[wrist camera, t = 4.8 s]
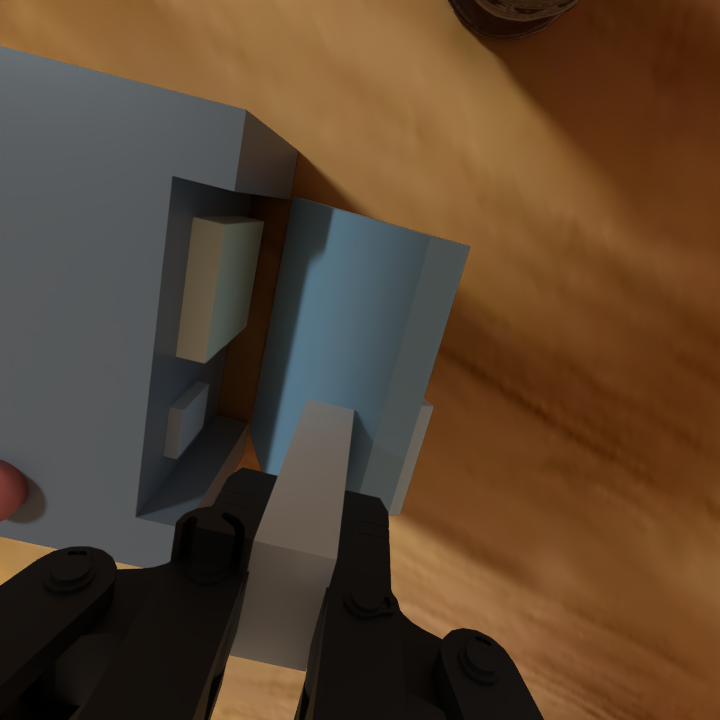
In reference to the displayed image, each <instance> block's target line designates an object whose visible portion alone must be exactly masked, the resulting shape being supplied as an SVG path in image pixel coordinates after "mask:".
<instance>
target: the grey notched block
mask: <svg viewBox="0 0 720 720" xmlns="http://www.w3.org/2000/svg"><path fill="white" fill-rule="evenodd" d="M298 152H299V151H298V150H297V149H296V148H294V147H293V146H292V145H290V144H289V143H288V142H287V141H285V140H284V139H283V138H282V137H280V136H279V135H278V134H276V133H275V132H274V131H273V130H271V129H270V128H269V127H267V126H266V125H265V124H264V123H262V122H261V121H260V120H259V119H257V118H256V117H255V116H253V115H252V114H251V113H250V112H248V111H247V110H245V109H241V108H237V107H233V106H229V105H225V104H222V103H218V102H214V101H210V100H206V99H202V98H198V97H195V96H191V95H187V94H183V93H179V92H175V91H171V90H168V89H164V88H160V87H156V86H152V85H148V84H144V83H140V82H137V81H133V80H129V79H125V78H121V77H117V76H113V75H110V74H106V73H102V72H98V71H94V70H90V69H86V68H83V67H79V66H75V65H71V64H67V63H63V62H59V61H56V60H52V59H48V58H44V57H40V56H36V55H32V54H29V53H25V52H21V51H17V50H13V49H9V48H5V47H2V46H0V537H5V538H9V539H14V540H19V541H23V542H28V543H32V544H37V545H41V546H46V547H51V548H55V549H64V548H68V547H74V546H90V547H94V548H97V549H101V550H104V551H105V552H106V553H108V554H109V555H110V556H112V557H113V559H114V561H115V562H119V563H124V564H128V565H133V566H138V567H142V568H150V567H156V566H159V565H163V564H166V563H168V562H170V559H171V552H172V546H173V539H174V532H175V525H176V522H177V521H178V520H179V519H180V518H181V517H182V516H183V515H184V514H185V513H187V512H190V511H192V510H194V509H196V508H202V507H209V506H212V505H213V504H214V502H215V499H216V498H217V496H218V494H219V493H220V491H221V489H222V487H223V485H224V483H225V482H226V480H227V478H228V477H229V476H230V475H232V474H233V473H234V471H235V469H236V468H237V466H238V464H239V462H240V460H241V458H242V457H243V451H244V446H245V440H246V435H247V430H248V424H249V422H244V421H240V420H236V419H231V418H227V417H223V416H219V415H217V408H218V402H219V396H220V390H221V383H222V377H223V371H224V365H225V358H226V352H227V346H228V343H229V342H230V341H231V340H232V339H233V338H234V337H235V336H237V335H238V334H239V333H240V332H241V331H242V330H243V329H245V328H246V327H247V321H248V315H249V309H250V303H251V297H252V291H253V285H254V280H255V274H256V268H257V262H258V256H259V250H260V244H261V238H262V233H263V227H264V221H261V220H257V219H253V218H249V217H248V214H249V208H250V201H251V195H252V194H255V195H262V196H269V197H276V198H283V199H290V196H291V190H292V185H293V179H294V174H295V168H296V163H297V158H298Z"/></svg>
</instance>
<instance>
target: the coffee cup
mask: <svg viewBox="0 0 720 720" xmlns="http://www.w3.org/2000/svg"><path fill="white" fill-rule="evenodd" d="M448 1H449V3H450V5H451V7H452V9H453V10H454V12H455V14H456V15H457V16H458V17H459V19H461V20H462V21H463V22H464V23H465V24H466V25H467V26H469V27H470V28H471V29H472V30H474V31H475V32H476V33H478V34H479V35H481V36H483V37H487V38H492V39H499V40H510V39H519V38H522V37H524V36H527V35H530V34H532V33H536V32H539V31H541V30H543V29H545V28H547V26H548V25H549V24H550V23H551V22H552V21H553V20H555V19H556V18H557V17H559V16H560V15H561V14H562V13H564V12H566V11H568V10H569V9H571V8H572V7H574V6H575V5H576V4H577V2H578V1H579V0H448Z"/></svg>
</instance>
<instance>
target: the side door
mask: <svg viewBox="0 0 720 720" xmlns="http://www.w3.org/2000/svg"><path fill="white" fill-rule="evenodd" d="M469 249H470V246H467V245H464V244H460V243H457V242H453V241H450V240H446V239H443V238H439V237H436V236H432V235H429V234H426V233H422V232H419V231H415V230H412V229H408V228H405V227H401V226H398V225H394V224H391V223H387V222H384V221H380V220H377V219H373V218H370V217H366V216H363V215H359V214H356V213H353V212H349V211H346V210H342V209H339V208H335V207H332V206H328V205H326V204H322V203H318V202H314V201H310V200H306V199H302V198H298V197H294V196H293V200H292V205H291V211H290V216H289V221H288V227H287V232H286V238H285V243H284V248H283V254H282V259H281V264H280V270H279V275H278V281H277V286H276V291H275V297H274V302H273V308H272V313H271V318H270V324H269V329H268V335H267V340H266V345H265V351H264V356H263V361H262V367H261V372H260V378H259V383H258V388H257V394H256V399H255V405H254V410H253V415H252V421H251V426H250V432H249V433H250V436H251V439H252V442H253V446H254V449H255V452H256V455H257V458H258V461H259V465H260V468H261V471H262V472H264V473H268V474H273V475H277V476H278V475H279V472H280V469H281V467H282V464H283V461H284V459H285V456H286V453H287V451H288V448H289V446H290V443H291V440H292V438H293V435H294V432H295V430H296V427H297V424H298V422H299V419H300V416H301V414H302V411H303V408H304V406H305V403H306V401H307V399H311V400H315V401H319V402H323V403H327V404H331V405H336V406H340V407H344V408H348V409H352V410H354V416H353V425H352V433H351V442H350V451H349V459H348V468H347V476H346V485H345V490H348V491H352V492H357V493H361V494H365V495H369V496H374V497H378V498H380V499H381V501H382V502H383V504H384V506H385V507H386V509H387V511H388V516H391V515H400V513H401V509H402V506H403V503H404V500H405V497H406V494H407V490H408V487H409V484H410V481H411V478H412V474H413V471H414V468H415V465H416V462H417V459H418V455H419V452H420V449H421V446H422V443H423V440H424V436H425V433H426V430H427V427H428V424H429V420H430V417H431V414H432V411H433V408H434V406H433V405H432V404H431V403H430V402H429V401H427V400H426V399H425V398H424V396H425V393H426V389H427V386H428V383H429V380H430V376H431V373H432V370H433V366H434V363H435V360H436V357H437V353H438V350H439V347H440V344H441V340H442V337H443V334H444V330H445V327H446V324H447V321H448V317H449V314H450V311H451V308H452V304H453V301H454V298H455V294H456V291H457V288H458V285H459V281H460V278H461V275H462V272H463V268H464V265H465V262H466V259H467V255H468V252H469Z"/></svg>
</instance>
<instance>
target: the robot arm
mask: <svg viewBox="0 0 720 720" xmlns="http://www.w3.org/2000/svg"><path fill="white" fill-rule="evenodd" d="M353 416H354V410H352V409H348V408H344V407H340V406H336V405H331V404H327V403H323V402H319V401H315V400H311V399H307V401H306V403H305V406H304V408H303V411H302V414H301V416H300V419H299V422H298V424H297V427H296V430H295V432H294V435H293V438H292V440H291V443H290V446H289V448H288V451H287V453H286V456H285V459H284V461H283V464H282V467H281V469H280V472H279V475H278V476H277V475H273V474H268V473H264V472H260V471H255V470H251V469H247V468H241V469H240V470H238V471H237V472H235V473H233V474H232V475H230V476H229V477H228V478H227V480H226V482H225V483H224V485H223V487H222V489H221V491H220V493H219V494H218V496H217V498H216V499H215V502H214V504H213V505H212V506H209V507H202V508H196V509H194V510H192V511H190V512H187V513H185V514H184V515H183V516H182V517H181V518H180V519H179V520H178V521H177V522H176V525H175V532H174V539H173V546H172V552H171V559H170V562H168V563H166V564H163V565H159V566H156V567H150V568H142V569H117V566H116V564H115V561H114V559H113V557H112V556H110V555H109V554H108V553H106V552H105V551H104V550H101V549H97V548H94V547H90V546H74V547H68V548H64V549H60V550H56V551H53V552H51V553H49V554H47V555H45V556H43V557H41V558H40V559H38V560H36V561H35V562H33V563H32V564H30V565H29V566H28V567H26V568H25V569H23V570H22V571H20V572H19V573H18V574H16V575H15V576H13V577H12V578H10V579H9V580H8V581H6V582H5V583H3V584H2V585H0V720H210V719H211V716H212V713H213V710H214V707H215V704H216V701H217V698H218V694H219V691H220V688H221V685H222V681H223V676H224V671H225V667H226V663H227V660H228V657H229V654H230V655H231V656H236V657H241V658H245V659H250V660H255V661H259V662H264V663H269V664H273V665H278V666H282V667H287V668H292V669H296V670H301V671H306V668H307V671H306V678H305V682H304V685H303V689H302V693H301V696H300V700H299V703H298V707H297V710H296V714H295V718H294V720H544V719H543V717H542V715H541V713H540V711H539V709H538V707H537V705H536V703H535V701H534V700H533V698H532V696H531V694H530V692H529V690H528V688H527V686H526V684H525V683H524V681H523V679H522V677H521V675H520V673H519V671H518V669H517V667H516V665H515V664H514V662H513V660H512V659H511V658H510V656H509V655H508V653H507V652H506V651H505V649H504V648H503V647H501V646H500V645H499V644H498V643H497V642H496V641H495V640H493V639H492V638H491V637H489V636H487V635H485V634H483V633H481V632H479V631H476V630H471V629H466V628H461V629H456V630H452V631H451V632H450V633H448V634H447V635H446V636H445V637H444V638H443V639H441V638H439V637H437V636H435V635H433V634H431V633H429V632H427V631H425V630H423V629H422V628H420V627H419V626H417V625H415V624H414V623H412V622H411V621H410V620H409V619H408V618H407V617H406V616H405V615H403V613H402V612H401V611H400V608H399V604H398V601H397V599H396V597H395V596H394V595H393V593H392V590H391V571H390V544H389V530H388V529H389V517H388V511H387V509H386V507H385V506H384V504H383V502H382V501H381V499H380V498H378V497H374V496H369V495H365V494H361V493H357V492H352V491H348V490H345V485H346V476H347V468H348V459H349V451H350V442H351V433H352V425H353Z"/></svg>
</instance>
